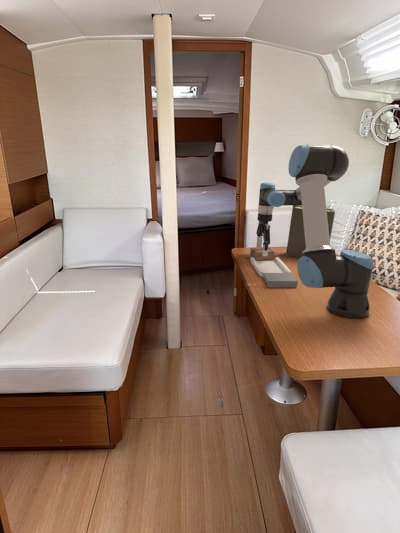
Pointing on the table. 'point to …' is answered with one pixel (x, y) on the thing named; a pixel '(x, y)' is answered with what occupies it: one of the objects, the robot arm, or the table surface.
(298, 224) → the book
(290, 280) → the plinth
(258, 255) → the block
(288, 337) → the table surface
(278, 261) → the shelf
